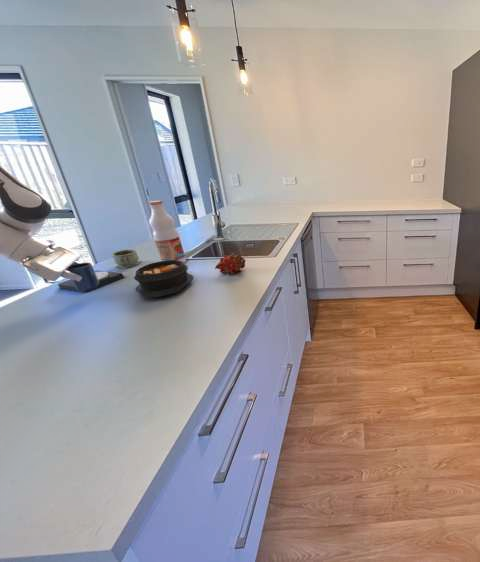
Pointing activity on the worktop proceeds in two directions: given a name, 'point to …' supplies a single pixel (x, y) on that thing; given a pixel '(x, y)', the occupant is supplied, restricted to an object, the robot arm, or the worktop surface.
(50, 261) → the robot arm
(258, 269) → the worktop surface
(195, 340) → the worktop surface
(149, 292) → the casserole
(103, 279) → the scale
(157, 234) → the fruit juice
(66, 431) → the worktop surface
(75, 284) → the dark blue cup
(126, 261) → the vessel
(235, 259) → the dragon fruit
